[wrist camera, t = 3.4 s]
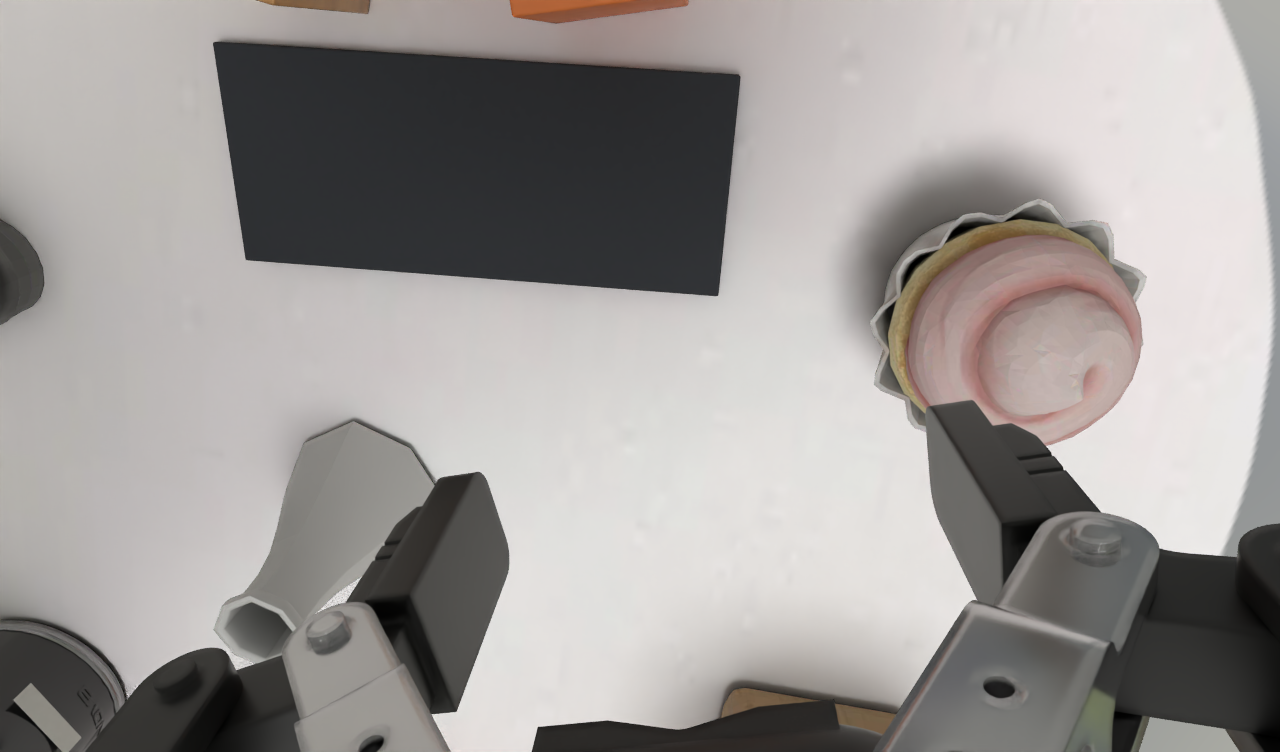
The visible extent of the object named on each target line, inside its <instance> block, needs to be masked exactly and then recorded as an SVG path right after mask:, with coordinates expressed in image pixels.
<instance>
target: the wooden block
mask: <svg viewBox="0 0 1280 752" xmlns="http://www.w3.org/2000/svg"><path fill="white" fill-rule="evenodd" d="M812 701H818V700H812V699H807V698H801V697H795V696H789V695H784V694H778V693H772V692H766V691H761V690H755V689H749V688H741V689H735V690H733V691H732V693H731V694H730V695H729V697H728V698H727V700H726V702H725V704H724V707H723V711H722V714H721V718H723V717H726V716H729V715H732V714H736V713H739V712H742V711H745V710H749V709H752V708H755V707H758V706H769V705H780V704H790V703H801V702H812ZM835 706H836V711H837V717H838V722H839V724H842V725H849V726H855V727H859V728H863V729H867V730H871V731H875V732H878V733H880V734H884V733H885V731H886V730H887V728H888V726H889V725H890V723H891V722H892V720H893V719H894V717H895V715H896V714H893V713H887V712H881V711H876V710H870V709H864V708H858V707H853V706H847V705H841V704H835Z"/></svg>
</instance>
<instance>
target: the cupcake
mask: <svg viewBox="0 0 1280 752" xmlns="http://www.w3.org/2000/svg"><path fill="white" fill-rule="evenodd" d="M1146 278H1147V277H1146V276H1145V275H1144V274H1143V273H1142V272H1141V271H1140V270H1138V269H1136V268H1134V267H1132V266H1129V265H1127V264H1125V263H1122V262H1120V261H1118V260H1116V259H1114V237H1113V233H1112V231H1111V229H1110V227H1109V225H1108V223H1105V222H1100V221H1095V220H1091V221H1082V222H1073V223H1067V222H1066V221H1065V220H1064V219H1063V217H1062V216H1061V215H1060V214H1059V212H1058V211H1057V210H1056V209H1055V207H1054V206H1053V205H1052V204H1050V203H1048V202H1046V201H1044V200H1042V199H1041V198H1040V199H1037V200H1034V201H1030V202H1027V203H1025V204H1023V205H1021V206H1019V207H1017V208H1016V209H1014V210H1012V211H1010V212H1008V213H1007V214H1005V215H993V216H992V215H988V214H985V213H981V212H979V213H971V214H963V215H962V216H961V217H960V218H959V219H955V220H952V221H949V222H946V223H944V224H941V225H939V226H937V227H935V228H933V229H931V230H929V231H928V232H926V233H924V234H923V235H921V236H920V237H918V238H917V239H916V240H915V241H914V242H913V243H912V244H911V245H910V246H909V247H908V248H907V249H906V250H905V251H904V253H903V254H902V255H901V257H900V258H899V259H898V261H897V263H896V264H895V266H894V267H893V269H892V270H891V273H890V276H889V279H888V282H887V286H886V290H885V298H884V304H883V305H882V306H881V307H880V309H879V310H878V311H877V313H876V314H875V316H874V317H873V318H872V320H871V321H870V325H871V328H872V332H873V335H874V337H875V338H876V339H877V341H878V342H879V344H880V345H881V347H882V348H883V352H882V355H881V358H880V361H879V364H878V368H877V371H876V374H875V380H874V385H875V386H876V387H877V388H878V389H880V390H881V391H883V392H885V393H888V394H890V395H893V396H895V397H897V398H900V399H902V400H905V404H906V411H907V417H908V420H909V422H910V423H911V425H912V426H913V427H914V428H915V429H918V430H921V431H924V432H926V419H925V414H926V408H927V407H928V406H933V405H939V404H946V403H953V402H960V401H966V400H973V401H975V403H976V404H977V405H978V407H979V408H980V409H981V411H982V412H983V413H984V415H985V416H986V417H987V419H988V420H989V421H990V423H991V424H992V425H1000V424H1007V423H1013V424H1015V425H1017V426H1018V427H1020V428H1022V429H1024V430H1026V431H1028V432H1030V433H1032V434H1034V435H1036V436H1038V438H1039V439H1040V440H1041V441H1042V442H1043V444H1044V445H1045V446H1047V445H1052V444H1054V443H1057V442H1060V441H1063V440H1065V439H1068V438H1071V437H1073V436H1075V435H1077V434H1078V433H1080V432H1082V431H1083V430H1085V429H1086V428H1088V427H1090V426H1091V425H1092V424H1094V423H1095V422H1096V421H1098V420H1099V419H1100V418H1102V417H1103V416H1104V415H1105V414H1107V413H1108V412H1109V411H1110V410H1111V409H1112V408H1113V407H1114V406H1115V405H1116V404H1117V403H1118V401H1119V400H1120V398H1121V397H1122V395H1123V393H1124V392H1125V390H1126V388H1127V387H1128V385H1129V384H1130V382H1131V381H1132V379H1133V376H1134V373H1135V370H1136V367H1137V364H1138V361H1139V358H1140V351H1141V346H1142V345H1143V339H1142V328H1141V318H1140V315H1139V312H1138V310H1137V307H1136V304H1135V303H1136V301H1137V299H1138V297H1139V296H1140V294H1141V292H1142V290H1143V289H1144V286H1145V282H1146Z"/></svg>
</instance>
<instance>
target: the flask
mask: <svg viewBox="0 0 1280 752" xmlns="http://www.w3.org/2000/svg"><path fill="white" fill-rule="evenodd" d="M434 486H435V485H434V484H433V482H432V481H431V479H430V478H429V476H428V475H427V473H426V472H425V470H424V469H423V467H422V465H421V464H420V462H419V461H418V459H417V458H416V456H415V455H414V453H413V452H412V450H411V449H410V448H409V447H406V446H404V445H402V444H400V443H398V442H396V441H394V440H392V439H390V438H388V437H386V436H383V435H381V434H379V433H377V432H375V431H373V430H371V429H369V428H367V427H365V426H362V425H360V424H358V423H356V422H354V421H353V422H350V423H348V424H346V425H344V426H341V427H339V428H337V429H334V430H332V431H330V432H328V433H325V434H323V435H321V436H318V437H316V438H314V439H312V440H309V441H307V442H305V443H304V444H303V447H302V449H301V452H300V455H299V457H298V460H297V462H296V465H295V468H294V470H293V473H292V475H291V478H290V481H289V483H288V486H287V489H286V492H285V496H284V499H283V504H282V508H281V513H280V517H279V522H278V526H277V530H276V533H275V537H274V540H273V544H272V547H271V551H270V553H269V555H268V557H267V559H266V561H265V563H264V565H263V567H262V568H261V570H260V572H259V574H258V576H257V577H256V578H255V580H254V581H253V582H252V583H251V585H250V586H249V587H248V588H247V590H246V591H245V592H244V593H243V594H241V595H238V596H235V597H233V598H230V599H229V600H227V601H226V602H225V603H224V604H223V606H222V608H221V611H220V613H219V616H218V619H217V621H216V624H215V627H214V629H213V630H214V631H215V632H216V634H217V635H218V636H219V637H220V638H221V640H222V641H223V642H224V643H225V644H226V645H227V647H228V648H229V649H230V650H231V651H232V653H233V654H234V655H236V656H239V657H241V658H243V659H246V660H248V661H250V662H253V663H255V664H257V663H260V662H263V661H266V660H269V659H272V658H274V657H277V656H280V655H282V649H283V645H284V643H285V641H286V640H287V638H288V637H289V635H290V634H291V633H292V632H293V631H294V630H295V629H296V628H297V627H298V626H299V625H300V624H301V623H303V622H304V621H305V620H307V619H308V618H310V617H311V616H313V615H315V614H316V613H317V612H318V611H319V610H320V609H321V608H322V607H323V606H324V605H325V604H326V603H327V602H328V601H329V600H330V599H331V598H332V597H333V596H334V595H335V594H336V593H338V592H339V591H340V590H342V589H343V588H345V587H346V586H348V585H349V584H351V583H352V582H354V581H356V580H357V579H359V578H360V577H362V576H363V575H364V573H365V572H366V570H367V569H368V567H369V565H370V564H371V562H372V561H375V556H376V554H377V553H378V551H379V550H380V548H381V547H382V546H385V543H384V542H385V540H386V539H387V537H388V536H389V534H390V533H391V531H392V530H393V528H394V526H395V525H396V524H397V523H398V522H399V521H400V520H402V519H403V518H404V517H405V516H406V515H407V514H409V513H410V512H411V511H412V510H413V509H415V508H416V507H419V506H423V504H424V502H425V501H426V499H427V497H428V496H429V494H430V492H431V491H432V489H433V488H434Z"/></svg>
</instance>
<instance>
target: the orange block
mask: <svg viewBox="0 0 1280 752" xmlns="http://www.w3.org/2000/svg"><path fill="white" fill-rule="evenodd" d="M510 5H511V11H512V15H513V17H516V18H523V19H530V20H537V21H544V22H550V23H563V22H570V21H578V20H585V19H593V18H600V17H608V16H615V15H623V14H630V13H638V12H645V11H652V10H660V9H667V8H675V7H682V6H687V5H688V0H510Z"/></svg>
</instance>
